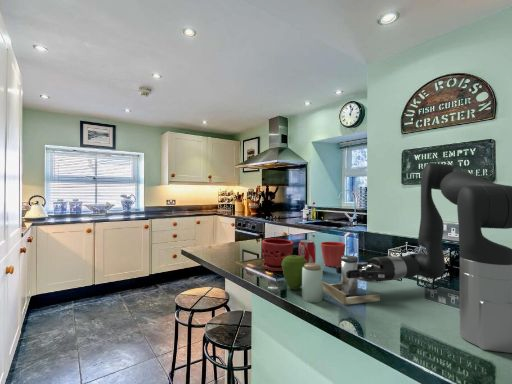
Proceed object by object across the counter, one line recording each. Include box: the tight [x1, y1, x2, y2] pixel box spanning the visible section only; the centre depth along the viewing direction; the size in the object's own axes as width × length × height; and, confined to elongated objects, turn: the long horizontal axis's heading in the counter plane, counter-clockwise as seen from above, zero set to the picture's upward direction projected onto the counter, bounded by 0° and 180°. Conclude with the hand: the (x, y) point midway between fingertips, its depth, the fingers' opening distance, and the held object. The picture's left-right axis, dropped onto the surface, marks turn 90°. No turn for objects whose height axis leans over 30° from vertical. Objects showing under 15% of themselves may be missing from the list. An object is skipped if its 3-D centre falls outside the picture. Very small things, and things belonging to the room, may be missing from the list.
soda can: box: [297, 239, 317, 264], centre depth 114 cm, size 7×7×12 cm
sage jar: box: [301, 262, 324, 304], centre depth 81 cm, size 6×6×10 cm
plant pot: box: [261, 238, 294, 272], centre depth 114 cm, size 13×13×12 cm
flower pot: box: [320, 241, 346, 268], centre depth 122 cm, size 11×11×10 cm
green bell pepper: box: [281, 254, 307, 291], centre depth 90 cm, size 9×8×12 cm
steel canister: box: [340, 254, 359, 297], centre depth 85 cm, size 5×5×11 cm
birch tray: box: [322, 280, 381, 306], centre depth 84 cm, size 12×12×3 cm
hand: (342, 272), depth 84 cm, fingers closed on steel canister, 4 cm apart
